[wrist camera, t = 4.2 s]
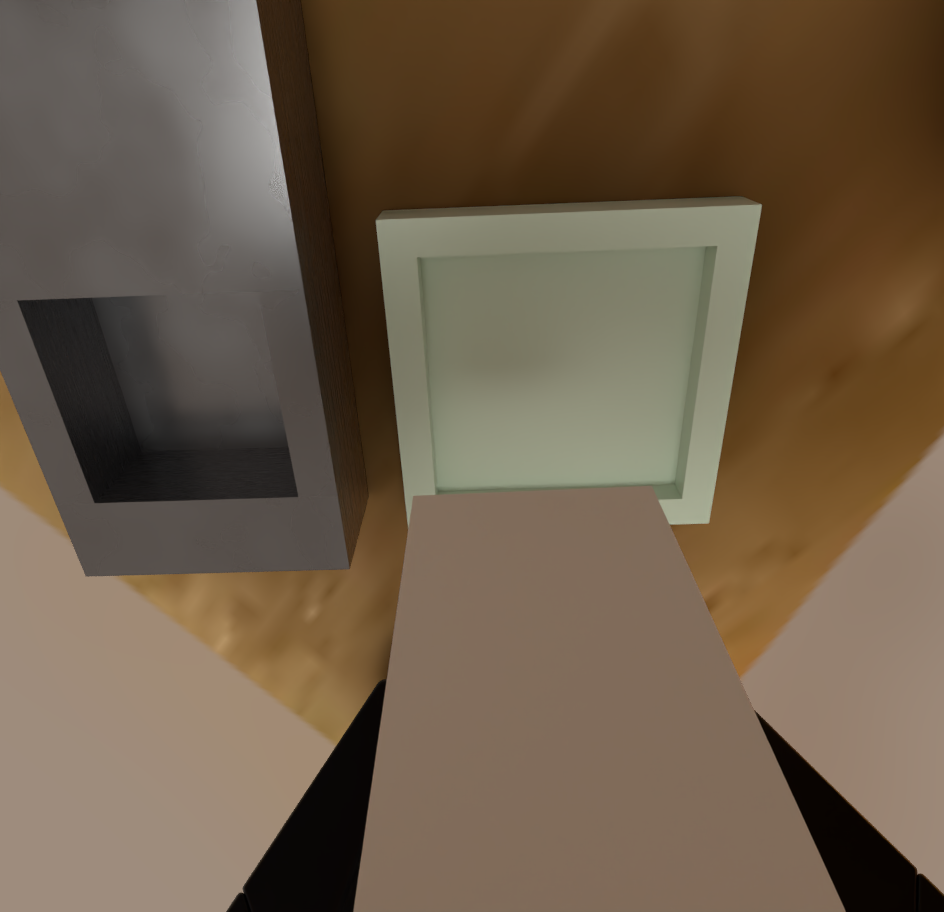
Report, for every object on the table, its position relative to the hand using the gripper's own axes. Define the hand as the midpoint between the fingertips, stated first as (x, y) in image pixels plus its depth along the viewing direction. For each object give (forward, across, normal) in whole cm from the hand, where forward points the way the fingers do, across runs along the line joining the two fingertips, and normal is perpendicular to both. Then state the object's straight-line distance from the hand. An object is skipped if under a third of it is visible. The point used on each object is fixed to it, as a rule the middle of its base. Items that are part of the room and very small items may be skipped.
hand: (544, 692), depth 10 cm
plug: (+2, 0, 0) cm, 2 cm away
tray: (+13, -2, 0) cm, 13 cm away
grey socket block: (+13, +9, -6) cm, 16 cm away
